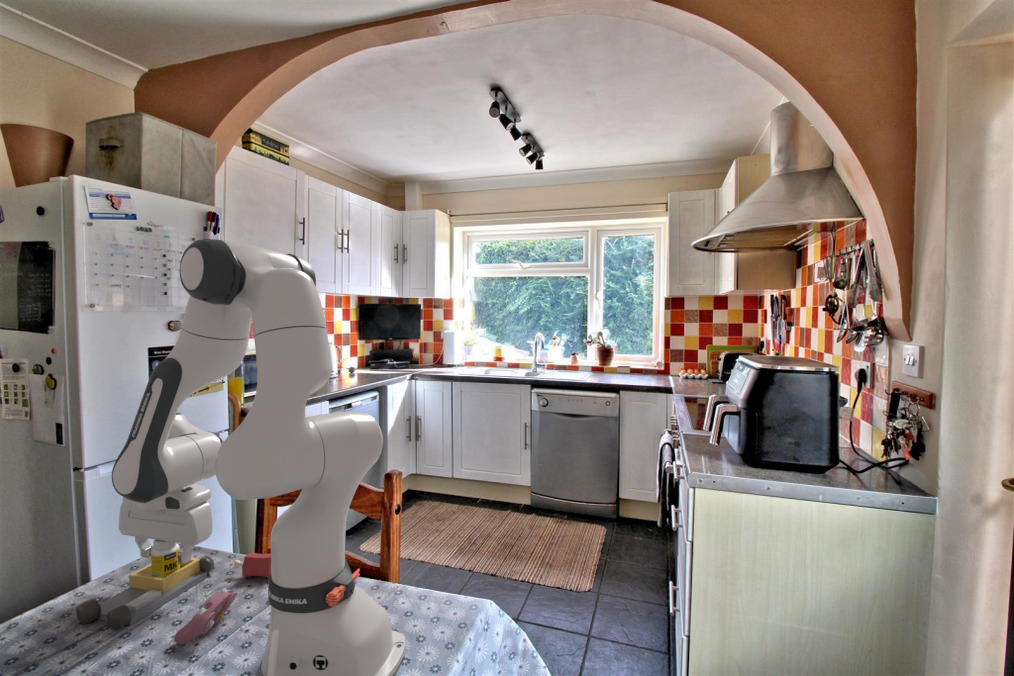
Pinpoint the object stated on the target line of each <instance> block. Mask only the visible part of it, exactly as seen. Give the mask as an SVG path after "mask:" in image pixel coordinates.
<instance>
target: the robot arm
mask: <svg viewBox="0 0 1014 676" xmlns="http://www.w3.org/2000/svg"><path fill="white" fill-rule="evenodd" d="M179 279H180V282H181V285H182V287H183V288H184V290H185V291H186V293H187V294H188V295H189V298H188V301H187V304H186V307H185V310H184V315H183V319H182V325H181V329H180V333H179V336H178V338H177V340H176V343H175V344H174V346H173V348H172V349H171V351H170V352H169V354H168V355H167V356H166V357H165V359H163V360H161V362H159V363H158V364H156V366H155V367H154V369H153V370H152V373H151V375H150V377H149V379H148V382H147V384H146V387H145V389H144V392H143V395H142V398H141V401H140V403H139V406H138V409H137V412H136V414H135V418H134V420H133V423H132V425H131V429H130V432H129V435H128V437H127V439H126V442H125V444H124V446H123V448H122V449H121V451H120V453H119V455H118V456H117V458H116V460H115V462H114V465H113V467H112V470H111V483H112V486H113V488H114V490H115V492H116V493H117V494H118V495H120V496H121V497H122V503H121V504H120V507H119V516H118V530H119V533H120V534H121V535H122V536H129V537H134V541H135V544H136V545H137V547H138V549H139V553H140V554H139V555H140V557H141V558H151V552H152V550H153V549H154V548H153V545H151V544H152V543H151V542H150V540H162V541H169V542H176V543H177V544H180V547H181V549H182V551H181V552H182V553H180V554H178V555H177V558H178V562H179V563H187V562H188V561H190V560H191V558H192V551H193V550H194V548H195V547H196V546H197V545H199V544H201V543H203V542H205V541H207V540H208V539H209V538H210V537H211V536H212V535H213V511H212V507H211V504H210V503H209V502H208V501H209V500H210V499H211V495H212V493H211V490H210V489H209V488H207V487H205V486H203V485H201V484H199V482H203V481H205V480H208V479H211V478H213V477H214V476H215V477H216V480H217V482H218V484H219V487H220V488H221V489H222V490H223V491H224V492H225V493H226V494H227V495H228V496H230V498H233V499H234V500H236V501H246V500H258V499H269V498H274V497H279V496H282V495H285V494H288V493H289V494H290V493H292V492H296V491H300V490H301V491H300V494H299V495H298V497H297V498H296V500H294V502H293V503H292V504H291V505H290V506H289V507H287V509H286V510H284V511H283V512H282V513H281V514H280V516H278V518H277V519H276V521H275V522H274V524H273V527H272V529H271V533H270V554H271V573H270V575H269V577H268V583H267V584H268V588H267V597H268V603H269V605H270V615H269V616H270V617H269V627H268V635H267V641H266V644H265V650H264V654H263V656H262V659H261V663H260V664H261V665H260V671H261V674H262V676H394V674H395V673H396V671H397V670H398V669H399V667H400V665H401V663H402V661H403V660H404V656H405V654H406V650H407V644H406V643H407V641H406V636H405V634H403V633H401V632H399V631H396V630H393V628H392V624H391V618H390V615H389V613H388V611H387V609H386V608H385V607H383V606H382V605H380V603H378V602H377V601H375V599H374V598H373V597H372V596H369V595H368V594H367V593H366V592H364V591H363V590H362V589H361V588H360V587H358V585H356V580H357V579H358V578H359V577H360V575H361V574H360V571H361V570H360V569H361V568H357V569H356V571H354V572H353V573H352V571H351V568H350V565H349V563H348V561H347V559H346V533H347V532H346V529H347V519H348V514H349V509H350V507H351V503H352V502H353V501H352V500H353V498H354V495H355V493H356V491H357V489H358V487H359V485H360V483H361V481H362V480H363V478H364V477H365V475H366V474H367V473H368V471H370V469H371V468H372V467H373V466H374V465H375V464H376V463H377V462H378V460H379V459H380V456H381V454H382V450H383V448H384V437H383V431H382V429H381V427H380V425H379V422H378V421H377V419H375V418H374V417H373V416H372V415H371V414H369V413H366V412H360V411H359V412H358V411H336V412H330V413H324V414H323V413H322V414H319V415H312V416H311V415H310V416H306V406H307V402H308V400H309V398H310V396H312V395H313V394H315V393H316V392H318V391H319V390H320V389H322V388H323V387H324V386H325V385H326V384H327V383H328V382H329V380H330V378H331V376H332V373H333V364H332V357H331V350H330V349H331V348H330V342H329V338H328V336H329V335H328V330H327V329H328V328H327V324H326V322H327V321H326V319H325V313H324V309H323V304H322V302H321V299H320V295H319V292H318V289H317V278H316V272H315V270H314V268H313V266H312V265H311V263H310V262H308V261H307V260H305V259H304V258H302V257H299V256H297V255H294V254H292V253H283V252H280V251H277V250H274V249H271V248H270V249H269V248H265V247H263V246H262V247H261V246H260V245H257V244H256V245H255V244H251V243H242V242H234V241H233V242H230V241H225V240H222V239H215V238H213V239H212V238H211V239H210V238H206V239H198V240H195V241H193V242H191V244H190V245H188V246H187V248H185V250H184V251H183V253H182V256H181V259H180V264H179ZM251 328H252V330H253V339H254V347H255V356H256V357H255V358H256V375H257V376H256V378H257V380H256V382H257V383H256V390H255V394H254V399H253V401H252V404H251V407H250V409H249V411H248V413H247V414H246V416H245V418H244V419H243V420H242V421H241V422H240V424H239V426H238V427H236V429H234V430H233V432H231V433H230V434H229V435H228V436H227V437H226V438H225V440H223V438H221V436H220V435H218V434H216V433H215V432H212V431H206V430H204V429H201V428H199V427H197V426H195V425H193V424H192V423H190V421H189V420H188V418H187V416H186V415H185V414H183V413H180V412H178V411H179V409H180V407H181V406H182V404H183V403H184V402H185V401H186V400H187V399H188V398H189V397H190V396H191V395H193V394H194V393H196V392H198V391H199V390H201V389H203V388H204V387H206V386H208V385H211V384H212V383H214V382H216V381H220V380H221V379H224V378H225V377H227V376H229V375H230V374H232V373H233V372H234V371H236V369H238V368H239V367H240V366H241V363H242V362H243V361H244V359H245V356H246V353H247V349H248V345H249V340H250V335H251V334H250V333H251Z"/></svg>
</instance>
